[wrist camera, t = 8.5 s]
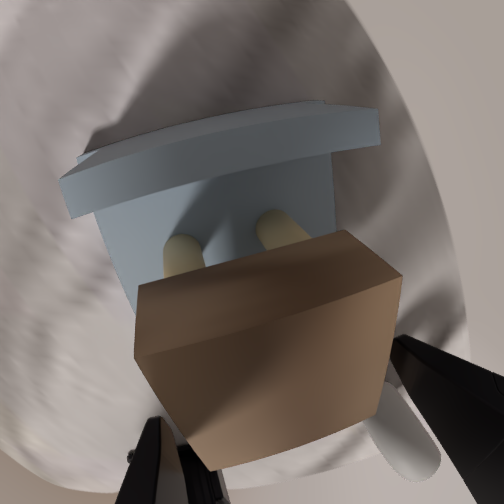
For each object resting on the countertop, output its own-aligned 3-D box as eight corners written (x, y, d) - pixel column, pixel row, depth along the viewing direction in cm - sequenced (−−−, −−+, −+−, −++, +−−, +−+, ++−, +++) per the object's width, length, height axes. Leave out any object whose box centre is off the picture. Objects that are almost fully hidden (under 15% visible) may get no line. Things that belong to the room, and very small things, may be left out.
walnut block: (197, 410, 12) (210, 471, 9) (138, 285, 9) (134, 358, 6) (342, 364, 13) (375, 414, 10) (344, 229, 10) (402, 276, 7)
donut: (332, 382, 22) (396, 490, 13) (369, 353, 21) (444, 456, 13) (372, 415, 27) (420, 491, 18) (400, 393, 26) (453, 467, 18)
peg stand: (177, 385, 18) (190, 470, 13) (82, 153, 11) (24, 193, 6) (331, 338, 19) (377, 407, 14) (314, 100, 13) (405, 107, 7)
